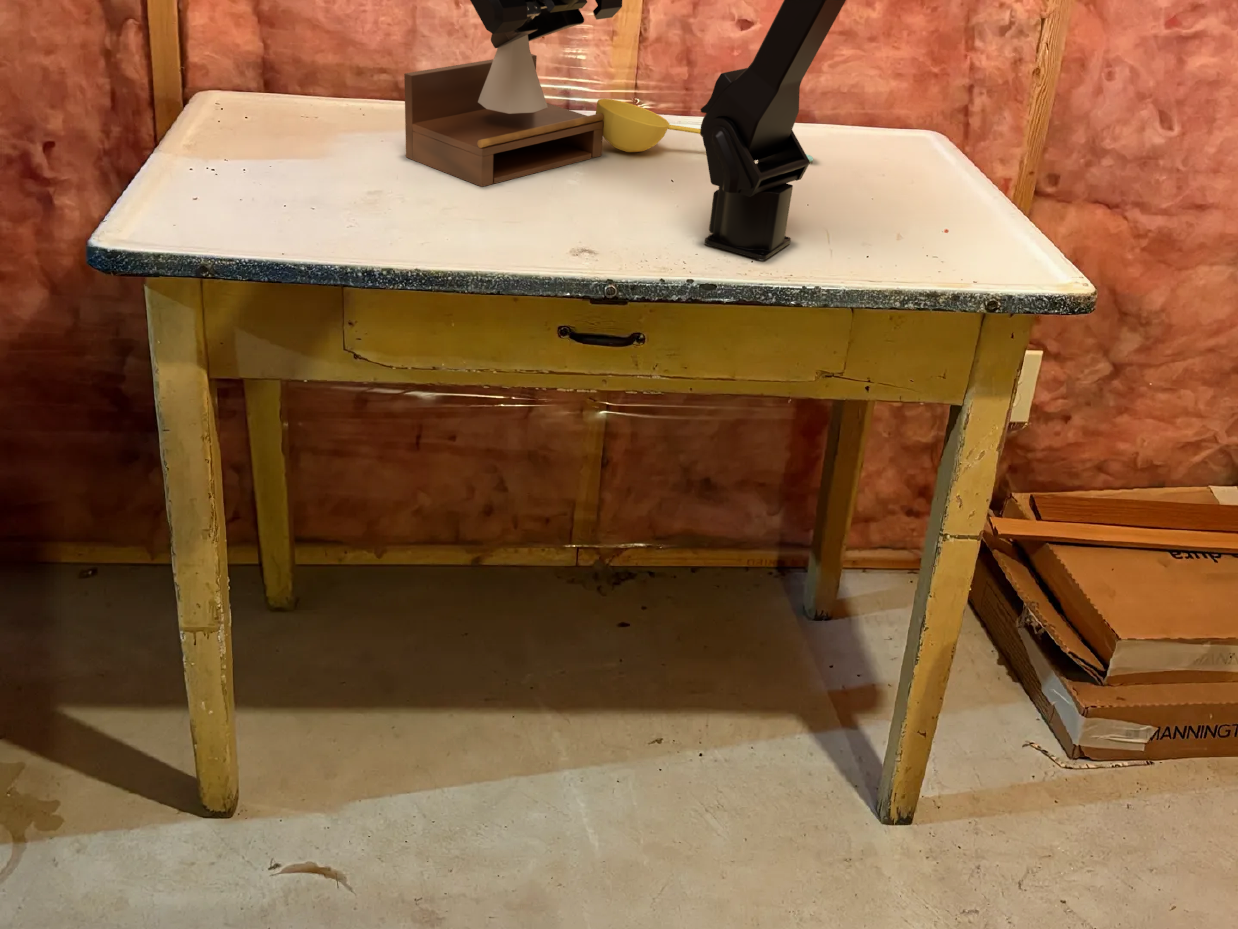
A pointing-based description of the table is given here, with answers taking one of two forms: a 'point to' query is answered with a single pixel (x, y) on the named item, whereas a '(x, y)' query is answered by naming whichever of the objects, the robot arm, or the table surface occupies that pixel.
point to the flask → (513, 81)
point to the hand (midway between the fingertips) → (504, 42)
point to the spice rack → (489, 129)
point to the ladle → (635, 126)
